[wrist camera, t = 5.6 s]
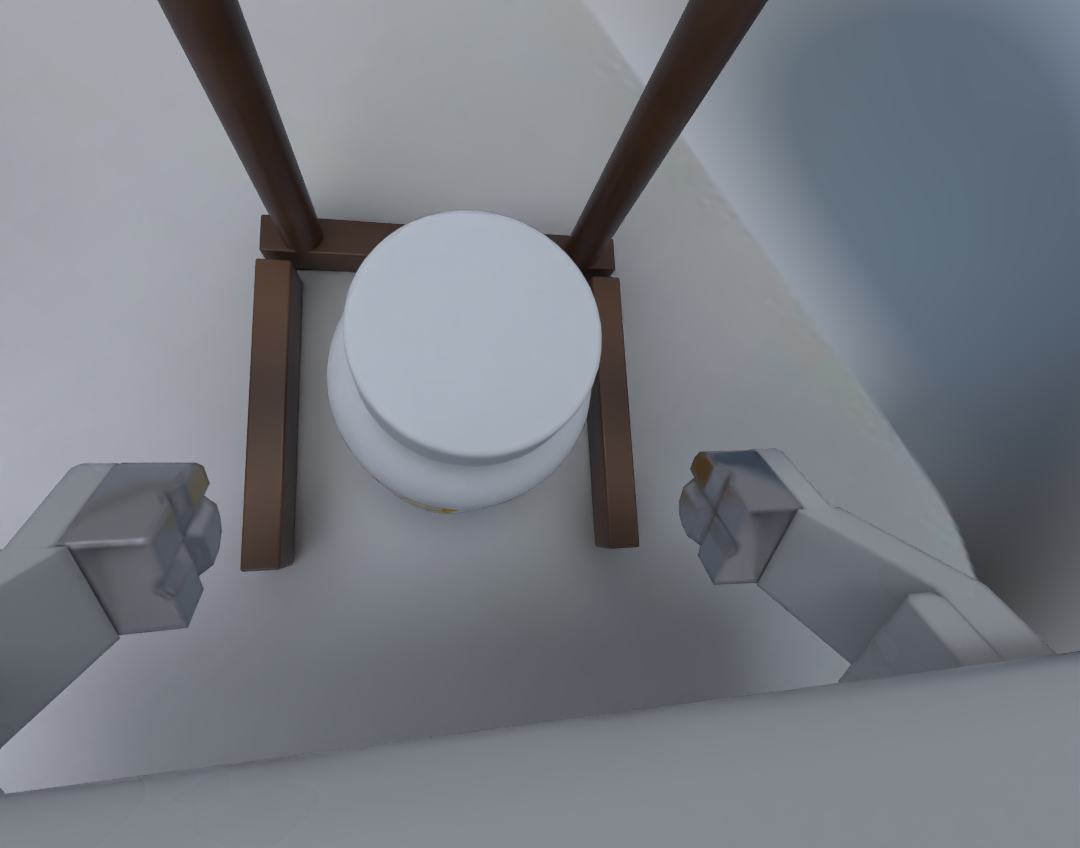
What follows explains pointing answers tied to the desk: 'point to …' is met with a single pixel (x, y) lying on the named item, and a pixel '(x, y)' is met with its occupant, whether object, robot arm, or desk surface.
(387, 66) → the desk surface
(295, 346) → the frame
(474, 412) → the supplement bottle
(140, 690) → the desk surface
